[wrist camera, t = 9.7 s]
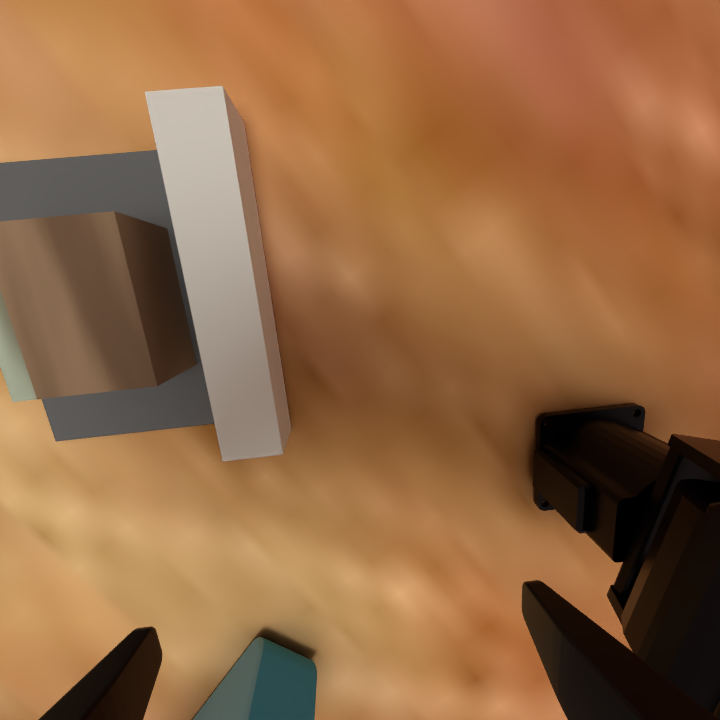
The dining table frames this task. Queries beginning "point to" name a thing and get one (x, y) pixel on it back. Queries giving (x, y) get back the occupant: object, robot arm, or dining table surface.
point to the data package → (265, 686)
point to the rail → (223, 265)
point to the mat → (149, 203)
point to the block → (89, 306)
